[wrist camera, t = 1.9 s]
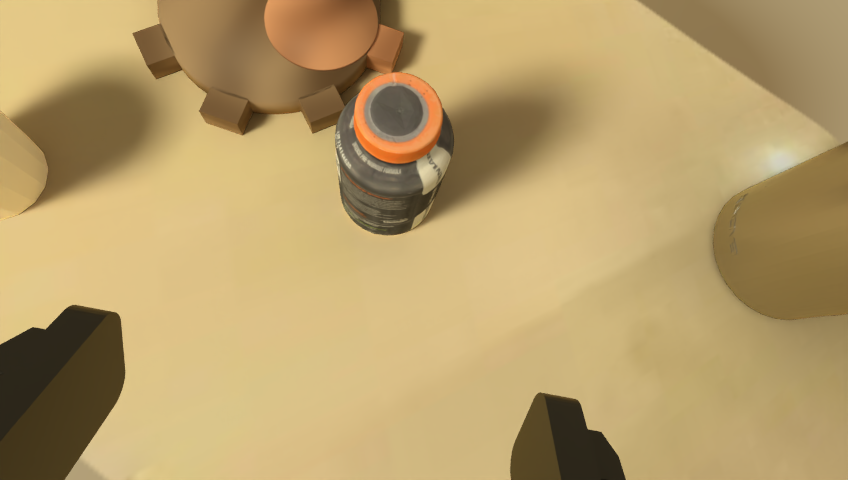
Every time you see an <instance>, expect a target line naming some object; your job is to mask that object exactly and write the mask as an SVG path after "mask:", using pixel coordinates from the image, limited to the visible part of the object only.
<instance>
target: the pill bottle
mask: <svg viewBox="0 0 848 480" xmlns="http://www.w3.org/2000/svg"><path fill="white" fill-rule="evenodd" d="M335 144H336V163H337V170H338V177H339V186H340V195H341V199H342V203H343V206H344V208H345V210H346V212H347V213H348V215H349V216H350V217H351V219H352V220H353V221H354V222H355V223H356V224H357V225H359V226H360V227H362V228H363V229H365V230H367V231H369V232H371V233H374V234H381V235H397V234H402V233H405V232H407V231H410V230H411V229H413V228H414V227H416V226H417V225H418V224H419V223H421V222H422V221H423V219H424V218H425V217H426V215H427V214H428V212H429V210H430V208H431V206H432V203H433V201H434V199H435V196H436V194H437V192H438V189H439V187H440V185H441V182H442V179H443V177H444V175H445V173H446V170H447V167H448V165H449V162H450V160H451V157H452V154H453V146H454V136H453V130H452V126H451V123H450V120H449V118H448V116H447V114H446V112H445V111H444V109H443V108H442V104H441V102H440V99H439V97H438V95H437V93H436V92H435V90H434V89H433V88H432V87H431V86H430V85H429V84H428V83H426V82H425V81H424V80H422V79H420V78H418V77H416V76H414V75H411V74H407V73H402V72H393V73H387V74H384V75H380V76H378V77H376V78H374V79H373V80H371V81H370V82H368V83H367V84H366V85H365V86H364V87H363V89H362V90H361V92H360V93H358V94H357V95H356V96H354V97H353V98H352V99H351V100H350V101H349V102H348V103H347V105H346V106H345V108H344V109H343V111H342V113H341V114H340V117H339V119H338V122H337V126H336V133H335Z"/></svg>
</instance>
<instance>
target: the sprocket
mask: <svg viewBox="0 0 848 480" xmlns="http://www.w3.org/2000/svg"><path fill="white" fill-rule="evenodd" d="M157 4H158V17H159V22H160V24H158V25H155V26H152V27H149V28H146V29H143V30H140V31H138V32H135V33H133V36H134V38H135V40H136V42H137V45H138V47H139V49H140V51H141V53H142V56H143V58H144V60H145V62H146V65H147V66H148V68H149V69H150V71H151V72H152V74H153V75H154V77H155V78H156V79H158V78H160V77H163V76H166V75H169V74H171V73H174V72H177V71H179V70H182V69H183V71H184V72H185V73H186V75H187V76H188V77H189V78H190V79H191V80H192V81H193V82H194V83H195V84H196V85H197V86H198V87H199V88H201V89H202V90H203V91H205V92H206V93H207V96H206V98H205V100H204V102H203V104H202V106H201V108H200V110H199V112H200V113H201V115H202V117H203V118H204V120H205V122H206V123H209V124H211V125H214V126H217V127H220V128H223V129H226V130H229V131H232V132H235V133H237V134H240V135H243V133H244V131H245V129H246V126H247V124H248V122H249V120H250V117H251V115H252V113H253V112H256V113H263V114H285V113H294V112H299V111H302V113H303V115H304V117H305V119H306V121H307V123H308V125H309V127H310V129H311V131H312V133H315V132H317V131H320V130H322V129H325V128H327V127H330V126H332V125H334V124H337V122H338V119H339V117H340V114H341V113H342V111H343V109H344V108H345V105H344V103H343V101H342V99H341V97H340V94H342V93H343V92H344V91H346V90H347V89H348V88H349V87H350V86H351V85H353V84H354V83H355V81H356V80H357V79H358V78H359V77H360V76H361V75H362V73H363V72H364V71H365V69H366V68H369V69H372V70H375V71H378V72H381V73H384V74H387V73H392V72H393V69H394V66H395V64H396V61H397V59H398V56H399V53H400V51H401V48H402V44H403V36H404V32H401V31H398V30H395V29H393V28H390V27H387V26H384V25H381V24H380V0H158V2H157Z"/></svg>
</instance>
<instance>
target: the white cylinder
mask: <svg viewBox="0 0 848 480" xmlns="http://www.w3.org/2000/svg"><path fill="white" fill-rule="evenodd" d="M47 175H48V166H47V162H46V159H45V156H44V153H43V152H42V150H41V149H40V148H39V147H38V146H37V145H36V144H35V143H34V142H33V141H32V140H31V139H30V138H29V137H28V136H27V135H26V134H25V133H24V132H23V131H22V130H21V129H19V128H18V127H17V126H16V125H15V124H14V123H13V122H12V121H11V120H10V119H9V118H8V117H7V116H6V115H5V114H4V113H2V112H1V111H0V221H1V220H4V219H7V218H10V217H13V216H16V215H19V214H20V213H22V212H23V211H24V210H26V209H27V208H28V207H30V206H31V205H32V204H34V203H35V202H36V200H37V199H38V197H39V196H40V194H41V193H42V191H43V189H44V188H45V186H46V181H47Z"/></svg>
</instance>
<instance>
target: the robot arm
mask: <svg viewBox="0 0 848 480" xmlns="http://www.w3.org/2000/svg"><path fill="white" fill-rule="evenodd" d="M713 246H714V254H715V259H716V262H717V265H718V268H719V271H720V273H721V275H722V276H723V278H724V280H725V282H726V284H727V285H728V286H729V288H730V289H731V290H732V291H733V293H734V294H735V295H736V296H737V297H738V298H739V299H740V300H741V301H743V302H744V303H745V304H746V305H747V306H748V307H750V308H752V309H754V310H755V311H757V312H759V313H761V314H763V315H766V316H769V317H772V318H775V319H784V320H794V319H802V318H811V317H820V316H829V315H831V316H835V315H844V314H848V142H846V143H844V144H841V145H839V146H837V147H835V148H833V149H831V150H829V151H827V152H825V153H822V154H820V155H818V156H816V157H814V158H812V159H810V160H808V161H805V162H803V163H801V164H799V165H797V166H795V167H793V168H791V169H788V170H786V171H784V172H782V173H780V174H778V175H775V176H773V177H771V178H769V179H767V180H765V181H763V182H761V183H759V184H756V185H754V186H752V187H750V188H748V189H746V190H744V191H742V192H740V193H739V194H737V195H735V196H734V197H732V198H731V199H730V200H729V201H728V202H727V203H726V204H725V206H724V207H723V209H722V211H721V212H720V214H719V216H718V218H717V221H716V225H715V228H714V237H713ZM124 379H125V363H124V351H123V340H122V328H121V319H120V316H119V315H118V314H117V313H116V312H111V311H105V310H100V309H94V308H89V307H84V306H78V305H72V306H69V307H68V308H66V309H65V310H64V311H63V312H62V313H61V314H60V315H59V316H58V317H57V318H56V319H55V320H54V321H53V322H52V323H51V325H50V326H49V327H48V328H47V329H46V330H45V329H40V328H34V327H32V328H30V329H29V330H27V331H25V332H23V333H21V334H19V335H17V336H16V337H14V338H12V339H10V340H8V341H6V342H4V343H3V344H1V345H0V480H65V478H66V477H67V475H68V474H69V472H70V471H71V469H72V468H73V466H74V465H75V463H76V462H77V460H78V459H79V457H80V456H81V454H82V453H83V451H84V450H85V449H86V447H87V446H88V444H89V443H90V441H91V440H92V438H93V437H94V435H95V434H96V432H97V431H98V429H99V428H100V426H101V425H102V423H103V422H104V420H105V419H106V417H107V416H108V415H109V413H110V412H111V410H112V409H113V407H114V406H115V404H116V402H117V400H118V398H119V396H120V393H121V391H122V388H123V384H124ZM510 473H511V480H626V479H625V476H624V473H623V469H622V466H621V463H620V460H619V457H618V455H617V454H616V452H615V451H614V449H613V448H612V447H611V445H610V444H609V442H608V441H607V440H606V438H605V437H604V435H603V434H602V432H599V431H593V430H588V429H587V426H586V422H585V419H584V415H583V411H582V408H581V405H580V403H579V401H578V400H576V399H572V398H567V397H561V396H556V395H550V394H545V393H538V394H537V395H536V396H535V398H534V400H533V402H532V405H531V407H530V409H529V411H528V414H527V416H526V418H525V420H524V423H523V425H522V427H521V429H520V432H519V434H518V436H517V438H516V441H515V443H514V446H513V450H512V456H511V467H510Z"/></svg>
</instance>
